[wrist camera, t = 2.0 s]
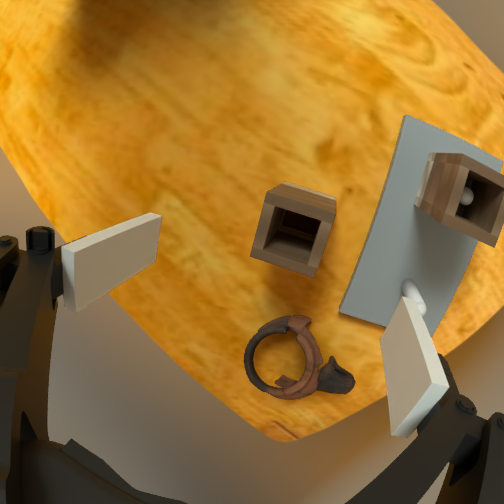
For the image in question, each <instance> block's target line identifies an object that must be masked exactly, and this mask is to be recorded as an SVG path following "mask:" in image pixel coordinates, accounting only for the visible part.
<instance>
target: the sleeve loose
mask: <svg viewBox="0 0 504 504" xmlns="http://www.w3.org/2000/svg"><path fill="white" fill-rule="evenodd" d="M286 210H289V211H293V212H296V213H299V214H302V215H305V216H308V217H311V218H315V219H318V220H320V222H319V225H318V228H317V231H316V234H315V236H313V235H310V234H307V233H304V232H301V231H298V230H295V229H292V228H289V227H286V226H282V222H283V218H284V215H285V211H286ZM335 215H336V197H333V196H330V195H327V194H324V193H321V192H318V191H315V190H312V189H308V188H305V187H302V186H299V185H295V184H292V183H289V182H283V183H281V184H280V185H278V186H276V187H274V188H273V189H271V190H269V191H267V193H266V197H265V201H264V204H263V208H262V212H261V216H260V220H259V223H258V227H257V231H256V235H255V239H254V243H253V246H252V250H251V254H250V257H253V258H256V259H259V260H262V261H265V262H268V263H271V264H274V265H277V266H280V267H283V268H286V269H289V270H292V271H295V272H298V273H301V274H304V275H307V276H310V277H313V278H314V277H315V274H316V271H317V269H318V266H319V263H320V260H321V257H322V254H323V251H324V248H325V246H326V243H327V240H328V237H329V234H330V231H331V228H332V225H333V221H334V218H335Z"/></svg>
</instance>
